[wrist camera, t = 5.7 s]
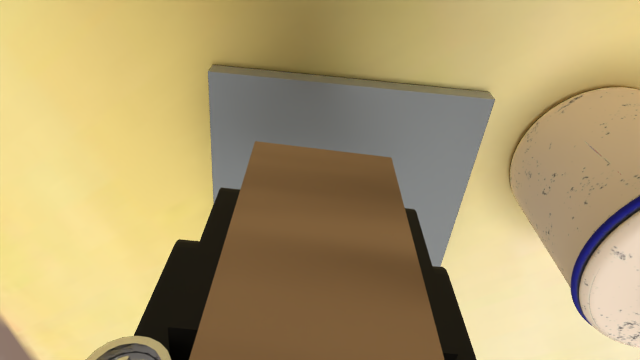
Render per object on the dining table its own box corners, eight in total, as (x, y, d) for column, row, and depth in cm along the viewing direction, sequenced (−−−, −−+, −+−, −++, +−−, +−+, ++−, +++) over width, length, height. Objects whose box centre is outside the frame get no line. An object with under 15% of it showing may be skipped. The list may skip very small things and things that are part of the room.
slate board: (212, 64, 22) (207, 71, 21) (488, 92, 22) (495, 99, 22) (222, 328, 33) (219, 340, 32) (409, 343, 33) (411, 354, 32)
